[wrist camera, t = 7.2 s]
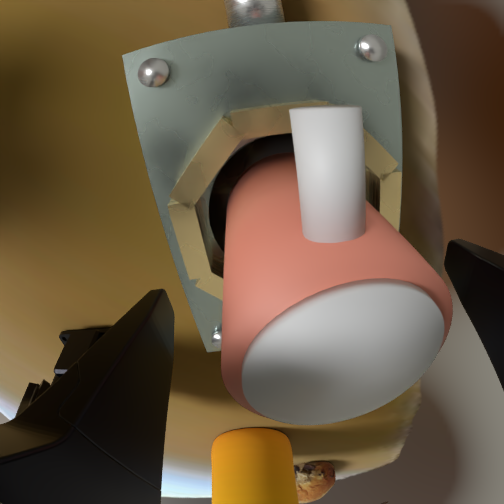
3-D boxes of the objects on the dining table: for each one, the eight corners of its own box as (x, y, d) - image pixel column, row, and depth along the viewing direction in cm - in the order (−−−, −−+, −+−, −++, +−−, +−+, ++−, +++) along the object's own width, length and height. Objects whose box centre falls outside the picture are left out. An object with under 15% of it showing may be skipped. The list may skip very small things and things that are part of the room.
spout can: (346, 254, 14) (425, 401, 7) (238, 272, 14) (245, 442, 7) (338, 93, 10) (500, 121, 3) (205, 109, 10) (140, 148, 3)
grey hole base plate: (370, 291, 19) (395, 337, 15) (209, 318, 20) (205, 371, 16) (354, -14, 10) (393, -41, 6) (135, 11, 10) (99, -14, 6)
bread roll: (267, 458, 42) (264, 498, 38) (288, 464, 34) (285, 511, 29) (319, 457, 44) (317, 495, 39) (348, 459, 36) (346, 503, 31)
